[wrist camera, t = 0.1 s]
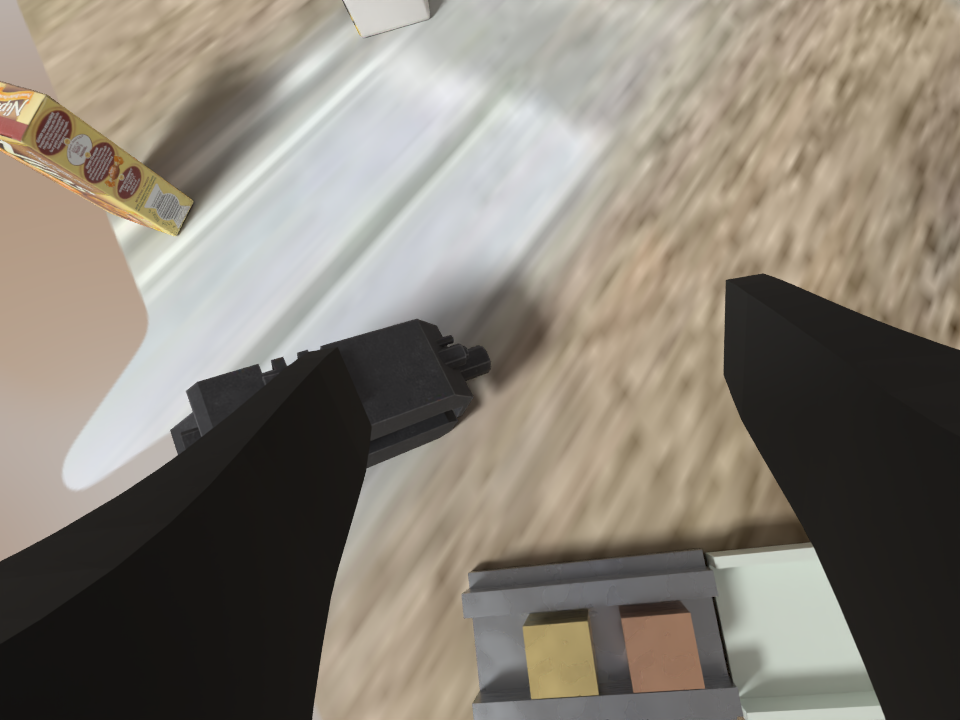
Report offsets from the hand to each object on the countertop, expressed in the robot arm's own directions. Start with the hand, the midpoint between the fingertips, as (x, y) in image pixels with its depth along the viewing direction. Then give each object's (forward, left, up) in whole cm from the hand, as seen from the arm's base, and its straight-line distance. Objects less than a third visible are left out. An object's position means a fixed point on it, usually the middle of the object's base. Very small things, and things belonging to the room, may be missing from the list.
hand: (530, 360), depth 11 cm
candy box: (+29, +37, -32) cm, 57 cm away
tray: (-12, -14, -32) cm, 37 cm away
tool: (+4, +16, -32) cm, 36 cm away
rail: (-12, +1, -32) cm, 34 cm away
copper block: (-12, -3, -31) cm, 33 cm away
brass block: (-12, +3, -31) cm, 33 cm away
